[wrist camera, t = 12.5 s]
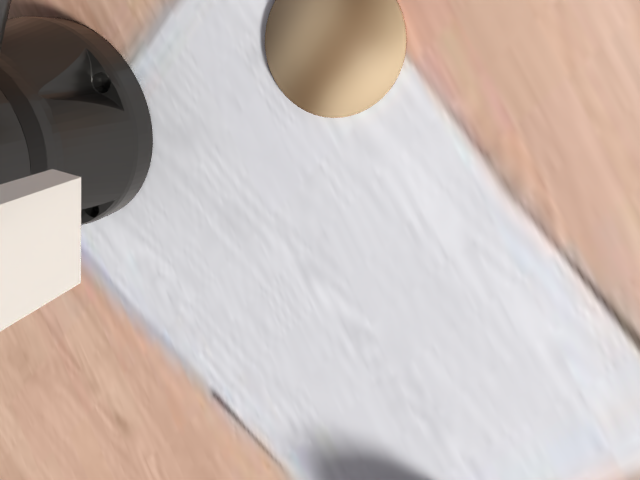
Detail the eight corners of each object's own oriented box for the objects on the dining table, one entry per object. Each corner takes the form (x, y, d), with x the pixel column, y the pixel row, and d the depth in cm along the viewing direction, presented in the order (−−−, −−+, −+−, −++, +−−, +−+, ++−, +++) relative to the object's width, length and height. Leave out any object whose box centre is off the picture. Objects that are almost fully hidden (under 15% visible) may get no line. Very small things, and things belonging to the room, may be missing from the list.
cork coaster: (255, 94, 36) (252, 94, 36) (284, -53, 32) (282, -54, 32) (381, 134, 35) (380, 135, 34) (426, -15, 31) (426, -16, 31)
